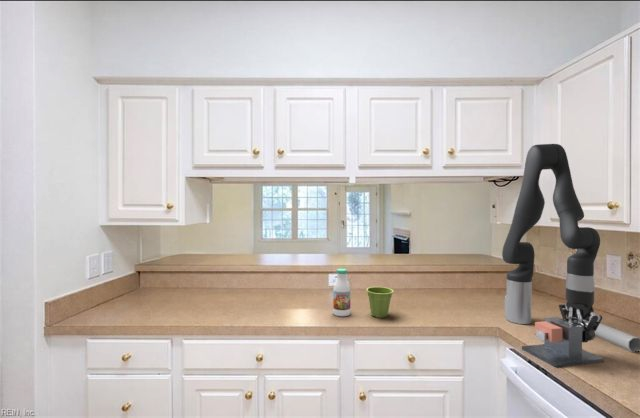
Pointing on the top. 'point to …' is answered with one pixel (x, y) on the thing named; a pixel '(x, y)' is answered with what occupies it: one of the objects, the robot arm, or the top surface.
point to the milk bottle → (341, 294)
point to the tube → (618, 337)
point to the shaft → (544, 338)
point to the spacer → (550, 331)
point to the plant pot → (379, 300)
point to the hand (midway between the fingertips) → (578, 339)
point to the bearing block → (564, 347)
